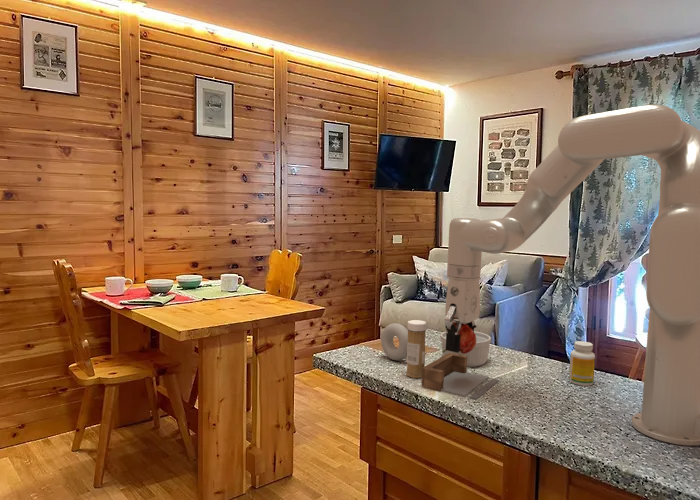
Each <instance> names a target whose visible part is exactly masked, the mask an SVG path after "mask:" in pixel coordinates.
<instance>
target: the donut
mask: <svg viewBox="0 0 700 500" xmlns="http://www.w3.org/2000/svg"><path fill="white" fill-rule="evenodd" d="M394 337H396V338H397V339H398V344H399V345H398V347H397V346H396V345H395V343H394V339H395V338H394ZM407 341H408V329H407V327H405V325H402V324H401V323H398V322H397V323H395V322H393V323H390V324H387V325H386V326H385V327H384V328H383V330H382V332H381V336H380V343H381V348H382V351H383V352H384V354H385V355H386V356H387V357H388V358H389V359H390V360H391V359H392V360H393V361H397V362H399V361H400V362H401V361H403V360H405V359H407Z"/></svg>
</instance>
